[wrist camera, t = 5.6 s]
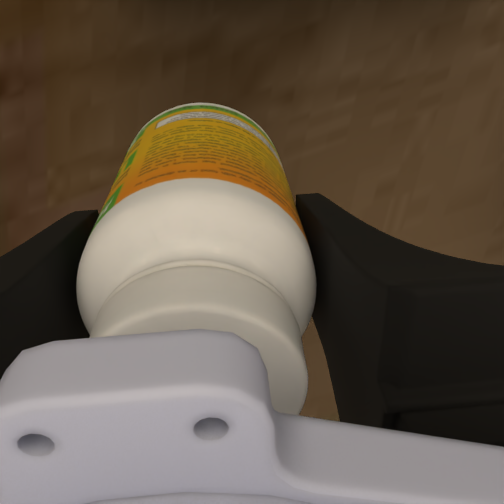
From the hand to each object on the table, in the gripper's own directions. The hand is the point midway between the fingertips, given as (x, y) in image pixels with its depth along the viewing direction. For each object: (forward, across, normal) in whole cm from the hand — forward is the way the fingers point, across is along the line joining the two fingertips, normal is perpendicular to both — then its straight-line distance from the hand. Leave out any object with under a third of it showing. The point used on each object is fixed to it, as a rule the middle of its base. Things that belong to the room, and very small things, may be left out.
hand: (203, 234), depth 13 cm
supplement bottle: (+4, 0, 0) cm, 4 cm away
